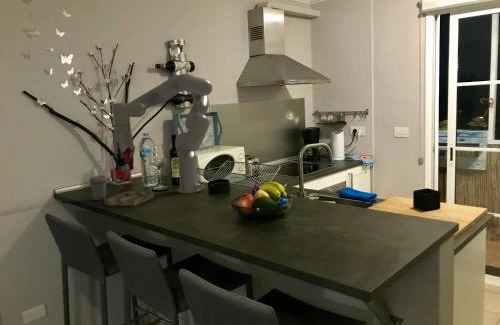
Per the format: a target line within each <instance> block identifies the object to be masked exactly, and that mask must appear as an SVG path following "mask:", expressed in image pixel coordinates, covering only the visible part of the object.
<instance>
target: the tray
mask: <svg viewBox="0 0 500 325" xmlns="http://www.w3.org/2000/svg"><path fill="white" fill-rule="evenodd" d="M154 198H155V195H154V191H123V192H121V193H118V194H115V195H113V196H110V197H106V199H104V200H103V201H104V206H123V207H124V206H125V207H126V206H127V207H136V206H137V205H140V204H142V203H144V202H147V201H149V200H151V199H154Z"/></svg>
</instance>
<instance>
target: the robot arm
mask: <svg viewBox="0 0 500 325" xmlns="http://www.w3.org/2000/svg"><path fill="white" fill-rule="evenodd" d="M212 91H213V85H212V82H210V81H209V80H208V79H207V78H206V79H205V78H202V77H198V76H194V75H191V74H186V73H179V74H176V75H173V76H172V77H170V78H168V79H166V80H165V81H164V82H162V83H160V84H159V85H156V86H155V87H154V88H152V89H150V90H148V91H147V92H145V93H143V94H142V95H140V96H138V97H136V98H135V99H133V100H131V101H130V102H129V103H126V102H116V103H113V105H112V116H113V126H114V127H113V128H114V132H113V153H114V155H115V157H116V158H117V166H118V167H119V166H124V158H123V154H124V152H125V150H126V149H127V147H130V148H131V150H132V157H133V158H134V153H135V149H136V146H135V144H134V139H133V134H132V128H131V118H141V117H143V116H145V114H146V112H147V110H149V109H151V108H153V107H155V106H158V105H161V104H163V103H165V102H167V101H168V100H170V99H171V98H174V97H175V96H176V95H178V94H179V93H181V92H188V93H190V94H191V96H192V105H191V107H190V110H189V113H188V115H187V117H186V118H185V122H184V125H185V128H186V130H187V131H183V132H180V133H179V134H177V135H176V137H175V140H174V142H175V143H174V145H175V150H176V156H177V165H178V177H179V178H178V179H179V188H178V189H177V193H179V194H194V193H198V192H200V191H201V190H202V189H205V183H202V184H201V183H200V181H198V171H197V170H198V168H197V157H196V153H195V152H196V151H197V150H199V148H200V147H201V146H202V144H203V142H204V140H205V137H206V134H207V133H208V130H209V128H210V127H209V125H210V122H209V121H210V120H209V118H208V117H207V116H206V115H207V113H208V110H209V106H210V105H209V104H210V101H209V97H208V96H209V95H210V94H211V93H212ZM119 150H121V151H119ZM120 153H121V155H120ZM134 160H135V159H133V164H134V163H135V162H134Z"/></svg>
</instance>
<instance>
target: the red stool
mask: <svg viewBox="0 0 500 325" xmlns="http://www.w3.org/2000/svg"><path fill="white" fill-rule="evenodd" d="M119 151H121V150H119ZM120 155H121V153H120ZM123 158H124V166H118V170H119V171H120V172H123V173H126V172H132V171H133V170H134V163H133V160H134V156H133V157H132V150H131V148H130V147H127V149H126V150H125V152H124V154H123Z"/></svg>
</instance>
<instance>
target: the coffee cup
mask: <svg viewBox="0 0 500 325" xmlns="http://www.w3.org/2000/svg"><path fill="white" fill-rule="evenodd" d="M88 182H89V184H90V188H91V192H92V196H93V200H94V201H95V200H100V201H103V200H102V199H105V198H106V199H107V177H106V175H102V174H101V175H94V176H91V177H89V181H88Z"/></svg>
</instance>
